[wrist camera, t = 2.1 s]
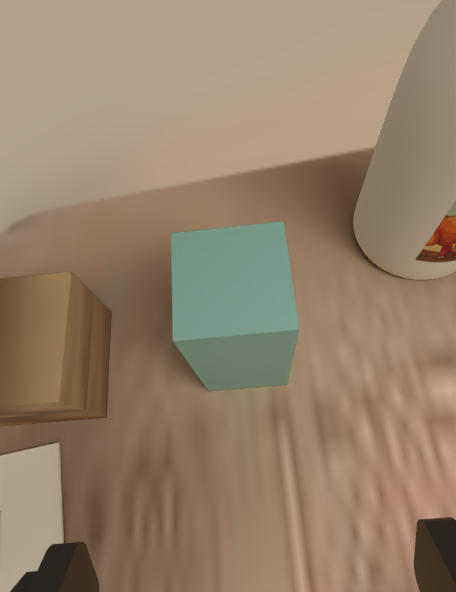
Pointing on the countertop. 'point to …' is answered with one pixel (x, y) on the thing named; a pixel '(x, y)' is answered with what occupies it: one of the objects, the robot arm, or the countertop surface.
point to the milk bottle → (416, 163)
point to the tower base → (52, 350)
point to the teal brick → (234, 305)
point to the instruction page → (29, 510)
